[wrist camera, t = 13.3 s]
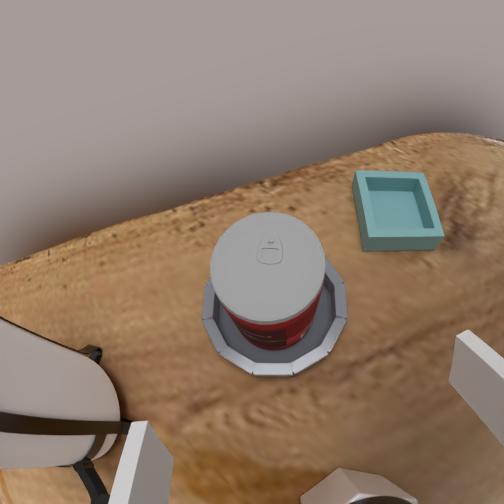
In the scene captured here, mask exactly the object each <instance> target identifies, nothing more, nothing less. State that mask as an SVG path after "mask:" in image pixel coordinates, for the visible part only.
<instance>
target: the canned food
mask: <svg viewBox="0 0 504 504" xmlns="http://www.w3.org/2000/svg"><path fill="white" fill-rule="evenodd" d="M325 270H326V268H325V254H324V251H323V248H322V245H321V243H320V241H319V239H318V237H317V235H316V234H315V233H314V232H313V231H312V230H311V228H310V227H309V226H307V225H306V224H305V223H304V222H302V221H301V220H299V219H297V218H295V217H293V216H290V215H287V214H284V213H277V212H262V213H257V214H253V215H250V216H247V217H245V218H242V219H241V220H239V221H238V222H236V223H234V224H233V225H232V226H231V227H229V228H228V229H227V230H226V231H225V232H224V234H223V235H222V236H221V237H220V239H219V240H218V242H217V244H216V246H215V248H214V250H213V254H212V257H211V264H210V274H211V281H212V284H213V287H214V290H215V293H216V295H217V297H218V299H219V300H220V302H221V304H222V305H223V307H224V309H225V310H226V312H227V313H228V315H229V316H230V318H231V319H232V321H233V322H234V324H235V325H236V326H237V328H238V329H239V331H240V332H241V334H242V335H243V336H244V337H245V338H246V339H247V340H248V341H249V342H250V343H252V344H253V345H255V346H257V347H259V348H262V349H266V350H281V349H286V348H288V347H291V346H293V345H295V344H296V343H297V342H299V341H300V340H301V339H302V338H303V337H304V336H305V335H306V334H307V332H308V331H309V329H310V328H311V325H312V323H313V320H314V317H315V313H316V310H317V306H318V303H319V299H320V295H321V292H322V288H323V283H324V278H325Z"/></svg>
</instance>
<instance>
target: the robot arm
mask: <svg viewBox="0 0 504 504" xmlns="http://www.w3.org/2000/svg"><path fill="white" fill-rule="evenodd" d="M449 383H450V384H451V385H452V386H453V387H454V389H455V390H456V391H457V392H458V393H459V394H460V395H461V397H462V398H463V399H464V400H465V401H466V402H467V403H468V405H469V406H470V407H471V408H472V409H473V410H474V412H475V413H476V414H477V415H478V416H479V418H480V419H481V420H482V421H483V422H484V424H485V425H486V426H487V427H488V428H489V430H490V431H491V432H492V433H493V434H494V436H495V437H496V438H497V439H498V441H499V442H500V443H501V444H502V446H503V447H504V359H503V358H502V357H501V356H500V355H499V354H498V353H496V352H495V351H494V350H493V349H492V348H490V347H489V346H488V345H487V344H486V343H484V342H483V341H482V340H481V339H480V338H478V337H477V336H476V335H475V334H473V333H472V332H471V331H470V330H466V331H464V332H462V333H460V334H458V335H456V338H455V346H454V353H453V360H452V366H451V372H450V377H449ZM173 463H174V458H173V456H172V455H171V454H170V452H169V451H168V450H167V448H166V447H165V445H164V444H163V442H162V441H161V440H160V438H159V437H158V435H157V434H156V432H155V431H154V429H153V428H152V426H151V425H150V423H149V422H148V421H138V422H132V423H131V426H130V429H129V432H128V436H127V439H126V442H125V446H124V449H123V452H122V456H121V459H120V462H119V466H118V469H117V473H116V476H115V480H114V484H113V487H112V491H111V495H107V494H101V495H100V496H99V497H98V499H97V500H96V501H95V502H94V504H168V502H169V494H170V486H171V478H172V470H173Z"/></svg>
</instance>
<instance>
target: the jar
mask: <svg viewBox="0 0 504 504" xmlns="http://www.w3.org/2000/svg"><path fill="white" fill-rule="evenodd" d="M300 504H418V501H417V499H416V498H414V497H413V496H411V495H410V494H408V493H407V492H405V491H404V490H402V489H401V488H399V487H398V486H396V485H395V484H393V483H392V482H390V481H389V480H387V479H386V478H385V477H383V476H382V475H377V474H371V473H365V472H359V471H354V470H349V469H344V468H337V469H336V470H334V471H333V472H332V473H331V474H329V475H328V476H327V477H326V478H324V479H323V480H322V481H321V482H319V483H318V484H317V485H315V486H314V487H313V488H311V489H310V490H309V491H307V492H306V493H305V494H303V495H302V496H301V497H300Z"/></svg>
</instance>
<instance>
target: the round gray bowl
mask: <svg viewBox="0 0 504 504" xmlns="http://www.w3.org/2000/svg"><path fill="white" fill-rule="evenodd" d="M325 268H326V270H325V278H324V283H323V288H322V292H321V295H320V299H319V303H318V306H317V310H316V313H315V317H314V320H313V323H312V325H311V328H310V329H309V331H308V332H307V334H306V335H305V336H304V337H303V338H302V339H301V340H300V341H299V342H297V343H296V344H295V345H293V346H291V347H288V348H286V349H281V350H266V349H262V348H259V347H257V346H255V345H253V344H252V343H250V342H249V341H248V340H247V339H246V338H245V337H244V336H243V335H242V334H241V332H240V331H239V329H238V328H237V326H236V325H235V324H234V322H233V321H232V319H231V318H230V316H229V315H228V313H227V312H226V310H225V309H224V307H223V305H222V304H221V302H220V300H219V299H218V297H217V295H216V293H215V290H214V287H213V284H212V281H211V277H210V278H209V280H208V281H207V283H206V285H207V286H205V290H204V300H203V311H202V320H203V321H202V322H203V324H204V326H205V328H206V330H207V332H208V334H209V336H210V338H211V340H212V342H213V344H214V346H215V348H216V350H217V352H218V353H219V354H220V355H221V356H222V357H224V358H225V359H227V360H228V361H230V362H231V363H233V364H235V365H236V366H238V367H240V368H241V369H243V370H245V371H246V372H248V373H250V374H251V375H253V376H256V377H274V378H275V377H292V375H294V376H296V375H298V374H299V373H301V372H303V371H305V370H307V369H309V368H310V367H312V366H313V365H315V364H316V363H318V362H320V361H321V360H323V359H325V358H326V357H327V355H328V354H329V353H330V351H331V349H332V348H333V346H334V344H335V342H336V340H337V338H338V336H339V334H340V333H341V331H342V329H343V327H344V325H345V323H346V321H347V320H346V319H347V305H346V292H345V283H344V281H343V279H342V278H341V277H340V275H339V274H338V272H337V271H336V270H335V268H334V267H333V265H332V264H331V263H330V261H329V260H328V259H327V257H326V256H325Z"/></svg>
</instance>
